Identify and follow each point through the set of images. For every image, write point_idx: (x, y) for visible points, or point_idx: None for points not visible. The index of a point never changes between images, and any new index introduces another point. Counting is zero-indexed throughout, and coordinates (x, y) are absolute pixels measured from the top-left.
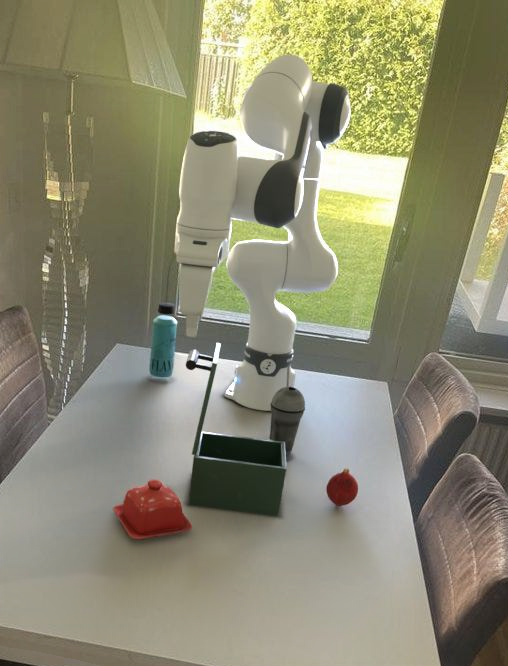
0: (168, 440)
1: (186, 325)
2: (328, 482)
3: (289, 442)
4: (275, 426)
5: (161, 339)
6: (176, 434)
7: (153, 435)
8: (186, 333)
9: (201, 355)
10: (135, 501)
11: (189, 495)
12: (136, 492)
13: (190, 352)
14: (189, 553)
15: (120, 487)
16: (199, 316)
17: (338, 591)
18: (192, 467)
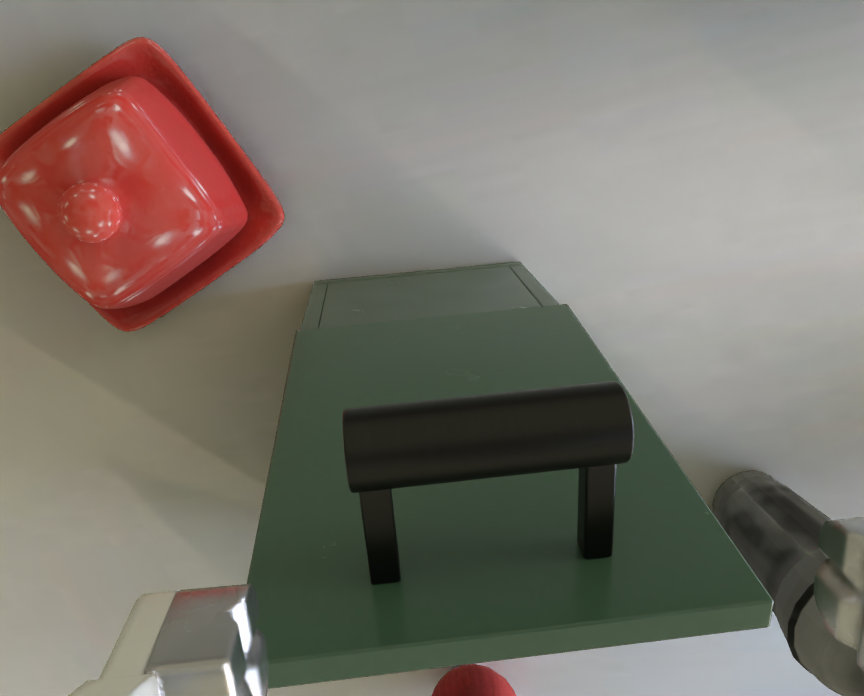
0: (785, 109)
1: (77, 689)
2: (477, 691)
3: None
4: (778, 546)
5: None
6: (847, 129)
7: (820, 36)
8: (132, 613)
9: (591, 485)
10: (22, 148)
11: (313, 289)
12: (66, 140)
13: (572, 416)
14: (32, 337)
15: (341, 14)
16: (862, 628)
17: (50, 692)
18: (303, 321)
